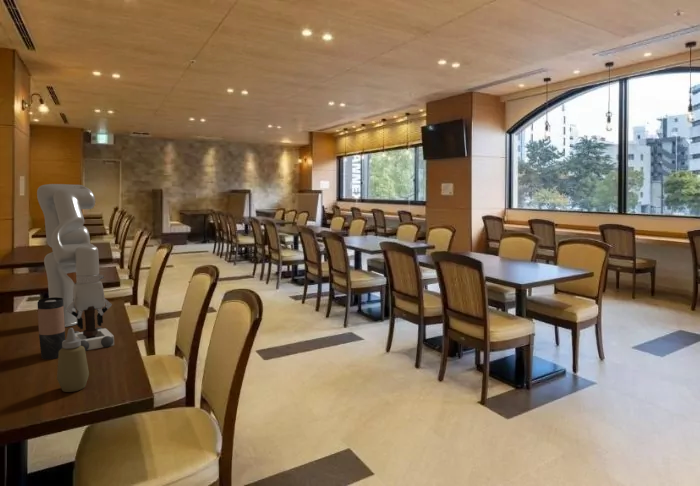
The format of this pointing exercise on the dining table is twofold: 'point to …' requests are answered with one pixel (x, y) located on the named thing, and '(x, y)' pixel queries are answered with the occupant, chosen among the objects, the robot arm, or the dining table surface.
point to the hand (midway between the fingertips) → (90, 326)
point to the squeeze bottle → (72, 364)
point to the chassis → (96, 339)
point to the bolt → (90, 323)
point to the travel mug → (51, 326)
